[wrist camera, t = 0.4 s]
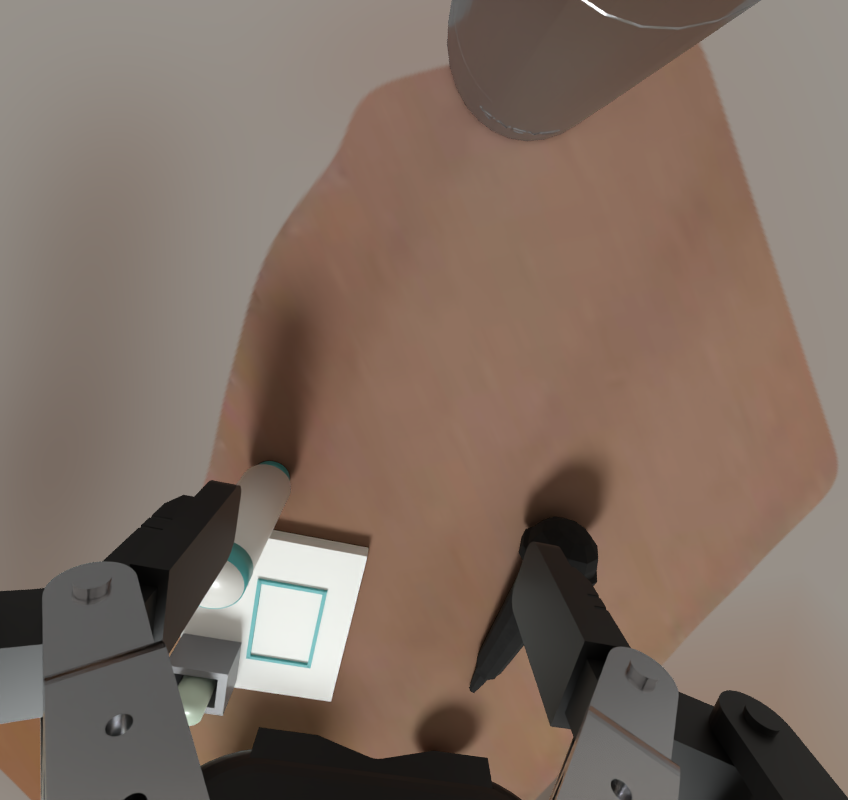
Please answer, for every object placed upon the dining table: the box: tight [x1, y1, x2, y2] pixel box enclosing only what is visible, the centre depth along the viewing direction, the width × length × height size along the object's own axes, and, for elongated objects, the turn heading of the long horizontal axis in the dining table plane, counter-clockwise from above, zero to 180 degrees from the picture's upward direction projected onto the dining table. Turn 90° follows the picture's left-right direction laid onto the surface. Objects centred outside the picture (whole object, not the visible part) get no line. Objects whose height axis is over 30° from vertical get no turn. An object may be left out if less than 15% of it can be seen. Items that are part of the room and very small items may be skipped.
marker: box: [199, 461, 291, 609], centre depth 27 cm, size 4×4×10 cm
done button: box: [178, 675, 216, 726], centre depth 33 cm, size 3×3×2 cm
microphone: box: [469, 517, 598, 693], centre depth 35 cm, size 6×6×20 cm
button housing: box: [169, 633, 242, 716], centre depth 35 cm, size 5×5×3 cm
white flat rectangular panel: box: [181, 530, 369, 702], centre depth 35 cm, size 16×13×1 cm
